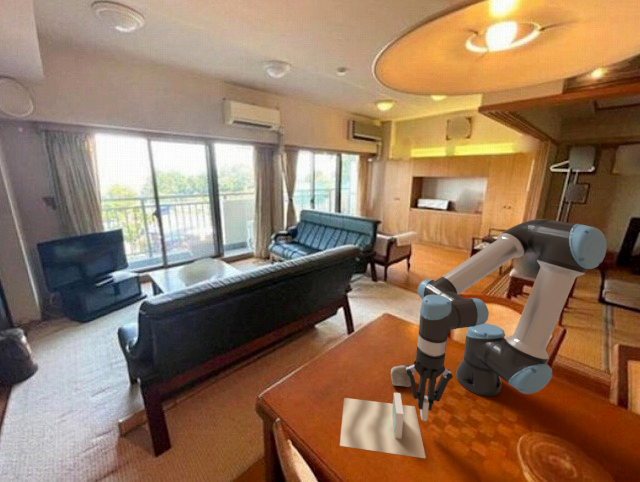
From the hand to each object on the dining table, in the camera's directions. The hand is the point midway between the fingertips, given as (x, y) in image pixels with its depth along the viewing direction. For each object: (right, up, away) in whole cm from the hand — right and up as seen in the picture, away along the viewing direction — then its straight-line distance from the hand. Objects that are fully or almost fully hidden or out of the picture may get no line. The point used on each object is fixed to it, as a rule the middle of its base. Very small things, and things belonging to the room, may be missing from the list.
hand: (423, 416), depth 85 cm
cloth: (-12, -5, +3) cm, 14 cm away
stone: (-2, -1, +23) cm, 23 cm away
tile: (-7, -5, +2) cm, 9 cm away
